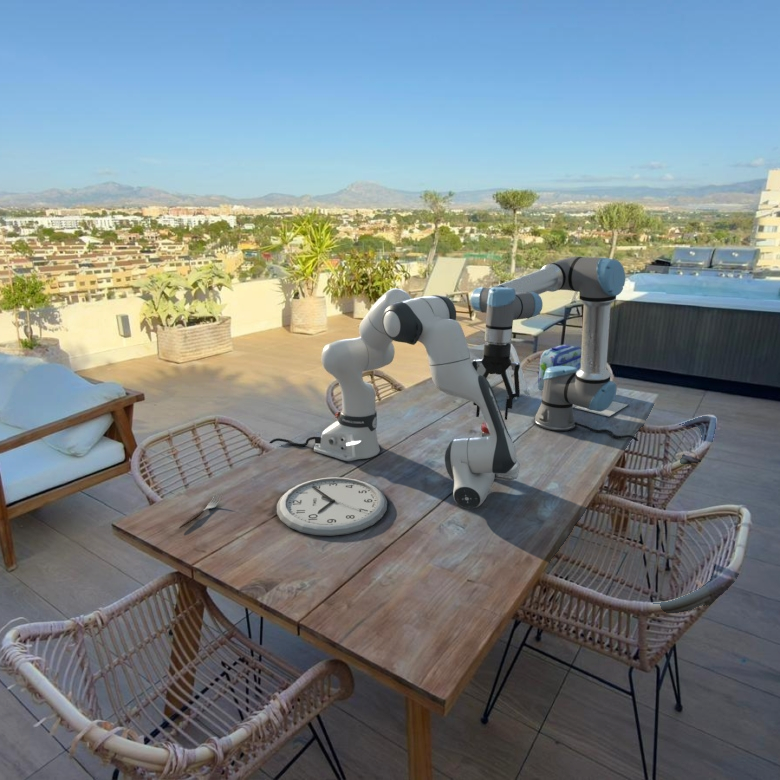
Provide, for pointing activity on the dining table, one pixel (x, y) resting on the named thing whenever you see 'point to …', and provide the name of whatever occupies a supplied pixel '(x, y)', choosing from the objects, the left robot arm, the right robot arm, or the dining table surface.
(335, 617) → the dining table surface
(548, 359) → the lunch box
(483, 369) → the white plastic object
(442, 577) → the dining table surface
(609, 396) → the right robot arm
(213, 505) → the fork
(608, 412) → the invitation card
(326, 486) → the wall clock
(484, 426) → the lid
